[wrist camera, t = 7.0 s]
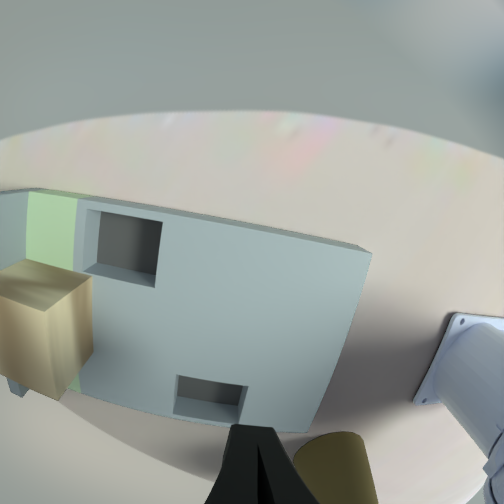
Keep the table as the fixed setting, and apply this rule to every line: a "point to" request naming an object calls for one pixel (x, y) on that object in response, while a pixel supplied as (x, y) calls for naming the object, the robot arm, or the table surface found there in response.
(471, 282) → the table surface
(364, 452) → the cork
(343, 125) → the table surface
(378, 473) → the table surface
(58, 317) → the beech block
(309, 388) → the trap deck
